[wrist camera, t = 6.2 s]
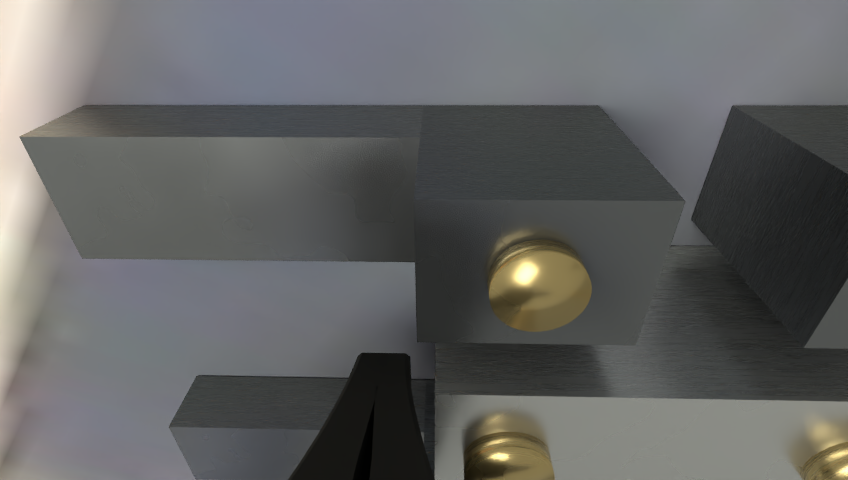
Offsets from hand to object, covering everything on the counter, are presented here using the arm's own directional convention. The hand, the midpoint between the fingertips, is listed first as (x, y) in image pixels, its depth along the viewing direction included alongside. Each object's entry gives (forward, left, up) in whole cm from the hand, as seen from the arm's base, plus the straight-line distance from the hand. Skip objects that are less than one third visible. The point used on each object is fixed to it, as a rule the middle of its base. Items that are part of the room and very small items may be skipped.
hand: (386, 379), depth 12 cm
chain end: (0, +1, -3) cm, 3 cm away
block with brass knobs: (0, -6, -3) cm, 7 cm away
